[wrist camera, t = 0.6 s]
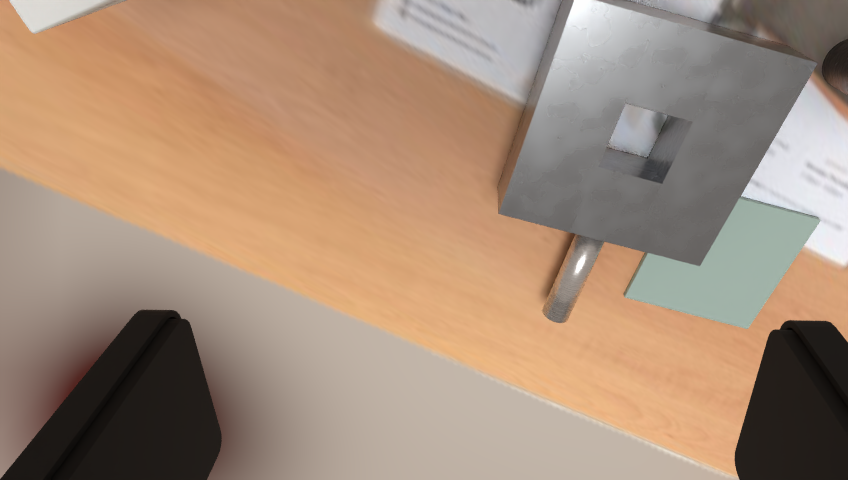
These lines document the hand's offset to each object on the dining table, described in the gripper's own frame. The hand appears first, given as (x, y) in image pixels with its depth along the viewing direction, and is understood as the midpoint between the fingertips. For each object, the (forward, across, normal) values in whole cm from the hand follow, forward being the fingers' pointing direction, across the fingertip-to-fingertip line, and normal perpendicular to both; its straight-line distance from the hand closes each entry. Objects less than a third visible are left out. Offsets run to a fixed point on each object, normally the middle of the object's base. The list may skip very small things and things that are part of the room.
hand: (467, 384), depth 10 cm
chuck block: (+33, -9, +11) cm, 36 cm away
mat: (+33, -17, +17) cm, 41 cm away
